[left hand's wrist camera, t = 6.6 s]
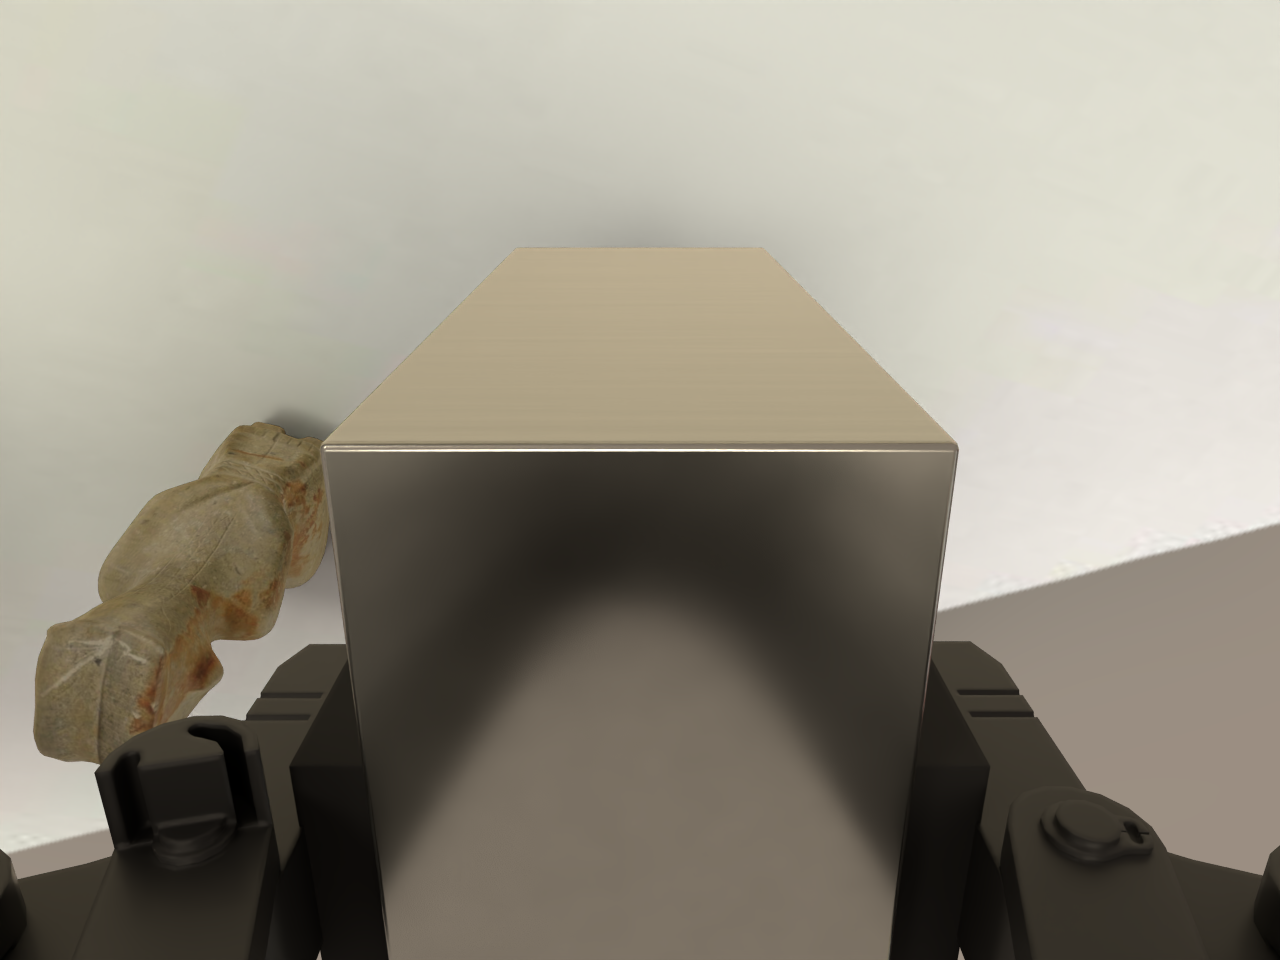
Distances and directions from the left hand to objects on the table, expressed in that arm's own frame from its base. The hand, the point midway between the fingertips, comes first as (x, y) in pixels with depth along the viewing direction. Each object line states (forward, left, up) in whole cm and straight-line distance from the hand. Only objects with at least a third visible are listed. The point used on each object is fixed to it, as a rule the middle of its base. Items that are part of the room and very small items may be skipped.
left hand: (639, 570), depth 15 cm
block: (0, 0, -5) cm, 5 cm away
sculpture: (-17, -3, -23) cm, 29 cm away
